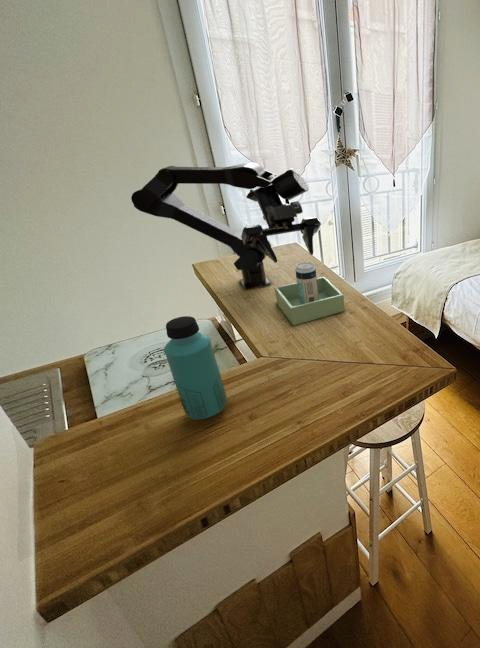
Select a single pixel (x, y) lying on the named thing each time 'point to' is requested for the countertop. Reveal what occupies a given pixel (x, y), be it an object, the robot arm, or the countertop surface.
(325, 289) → the bin
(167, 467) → the countertop surface
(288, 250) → the countertop surface
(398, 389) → the countertop surface
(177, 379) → the beverage bottle
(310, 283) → the labeled cylindrical canister
